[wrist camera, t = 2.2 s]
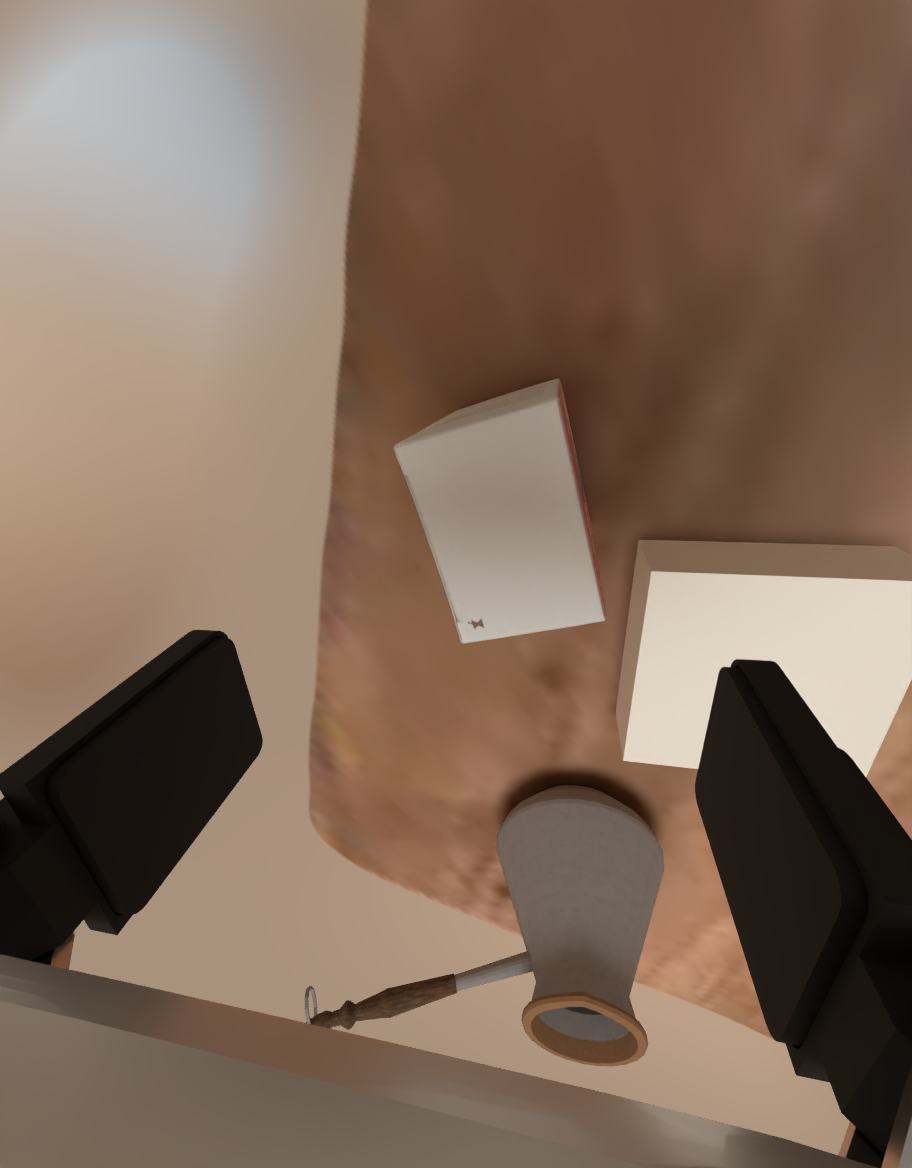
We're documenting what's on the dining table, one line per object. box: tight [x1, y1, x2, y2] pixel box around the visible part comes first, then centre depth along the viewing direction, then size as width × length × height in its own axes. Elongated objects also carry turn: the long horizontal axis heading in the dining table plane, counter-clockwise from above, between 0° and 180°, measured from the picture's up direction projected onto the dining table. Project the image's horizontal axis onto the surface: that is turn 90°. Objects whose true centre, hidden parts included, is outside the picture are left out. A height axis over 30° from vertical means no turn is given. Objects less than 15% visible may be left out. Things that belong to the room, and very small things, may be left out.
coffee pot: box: [305, 785, 664, 1066], centre depth 31 cm, size 21×12×15 cm, turn 96°
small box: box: [394, 379, 607, 644], centre depth 21 cm, size 8×6×10 cm
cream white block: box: [616, 540, 912, 777], centre depth 25 cm, size 12×12×4 cm
